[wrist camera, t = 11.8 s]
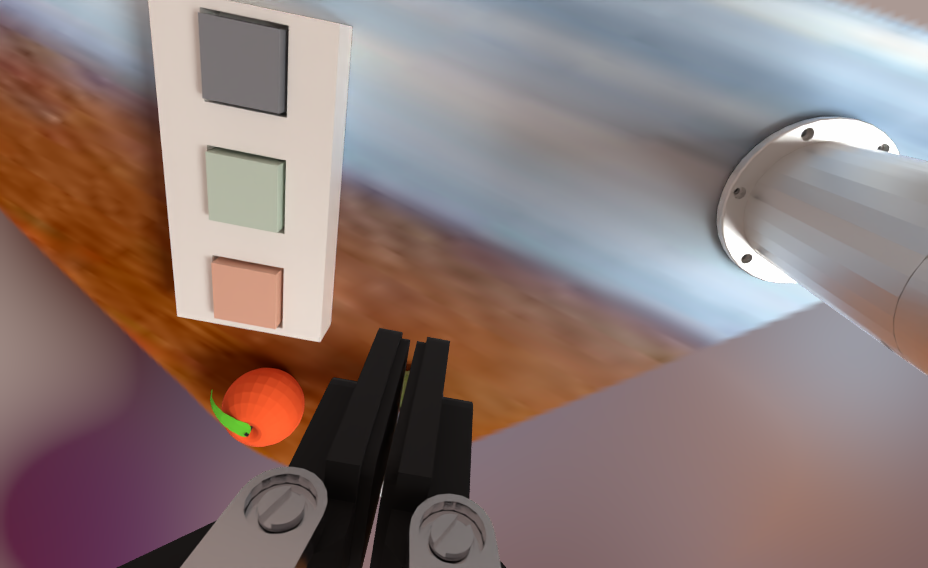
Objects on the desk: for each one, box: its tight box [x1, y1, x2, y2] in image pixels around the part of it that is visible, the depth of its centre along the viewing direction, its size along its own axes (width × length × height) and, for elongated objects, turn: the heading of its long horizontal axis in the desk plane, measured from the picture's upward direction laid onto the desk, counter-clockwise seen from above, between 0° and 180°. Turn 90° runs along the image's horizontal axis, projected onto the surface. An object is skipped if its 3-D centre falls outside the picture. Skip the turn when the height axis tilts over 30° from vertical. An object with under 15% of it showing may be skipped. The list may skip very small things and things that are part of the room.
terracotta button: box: [211, 256, 284, 329], centre depth 38 cm, size 5×5×3 cm
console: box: [148, 0, 353, 342], centre depth 35 cm, size 12×24×3 cm, turn 169°
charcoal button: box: [198, 12, 289, 113], centre depth 31 cm, size 5×5×3 cm
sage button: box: [205, 147, 286, 233], centre depth 35 cm, size 5×5×3 cm
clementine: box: [210, 368, 305, 447], centre depth 42 cm, size 8×7×7 cm
